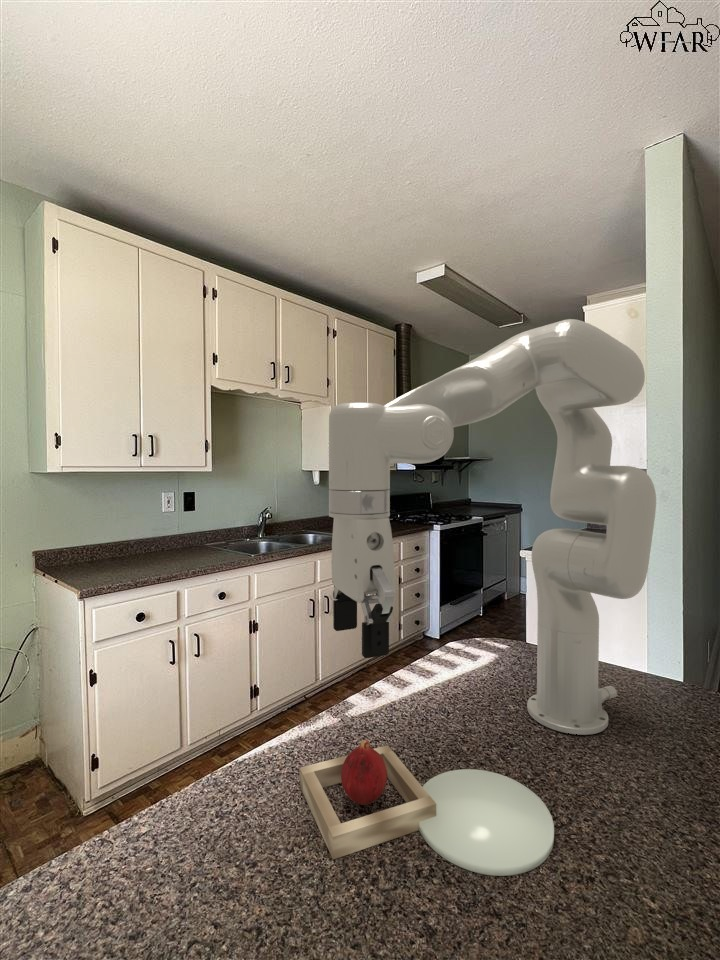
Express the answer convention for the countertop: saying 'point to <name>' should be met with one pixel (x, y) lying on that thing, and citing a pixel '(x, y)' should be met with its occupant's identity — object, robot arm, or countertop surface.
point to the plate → (487, 823)
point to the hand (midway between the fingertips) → (359, 641)
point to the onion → (364, 774)
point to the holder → (368, 827)
